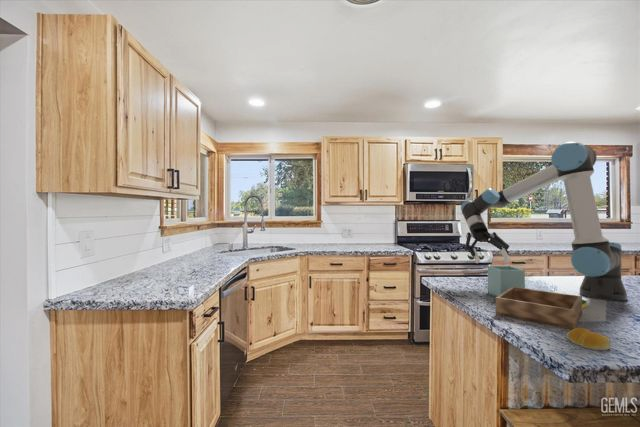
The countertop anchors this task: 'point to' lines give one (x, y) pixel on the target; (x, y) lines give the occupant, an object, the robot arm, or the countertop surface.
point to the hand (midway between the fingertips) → (493, 261)
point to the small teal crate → (504, 279)
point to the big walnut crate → (540, 307)
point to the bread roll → (588, 339)
